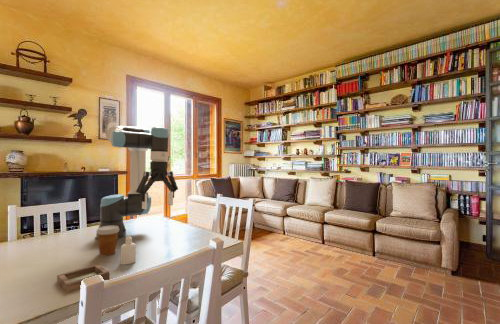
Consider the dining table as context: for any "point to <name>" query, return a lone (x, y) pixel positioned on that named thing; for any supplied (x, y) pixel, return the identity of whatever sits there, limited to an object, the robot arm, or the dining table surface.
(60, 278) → the wooden tray
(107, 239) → the disposable coffee cup
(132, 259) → the eye dropper bottle
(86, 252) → the dining table surface
